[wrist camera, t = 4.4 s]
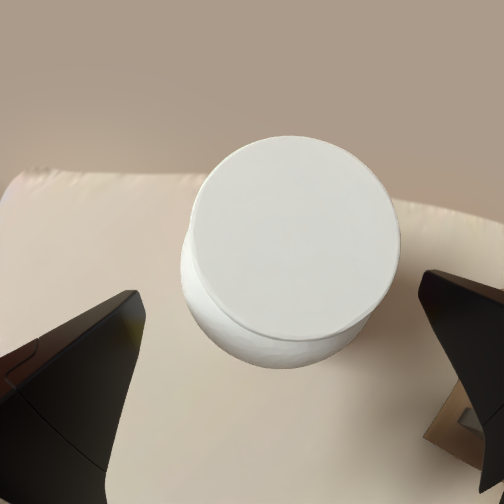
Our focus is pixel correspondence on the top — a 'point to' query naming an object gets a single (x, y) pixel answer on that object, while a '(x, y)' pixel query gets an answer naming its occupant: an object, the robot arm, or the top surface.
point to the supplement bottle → (288, 251)
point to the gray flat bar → (471, 422)
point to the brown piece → (456, 430)
